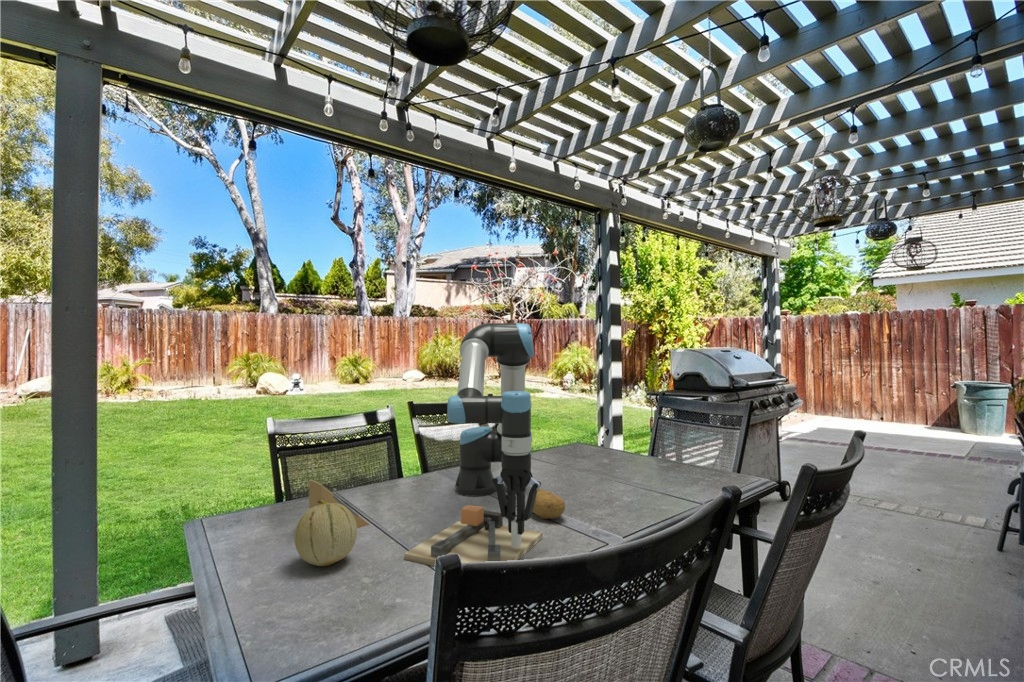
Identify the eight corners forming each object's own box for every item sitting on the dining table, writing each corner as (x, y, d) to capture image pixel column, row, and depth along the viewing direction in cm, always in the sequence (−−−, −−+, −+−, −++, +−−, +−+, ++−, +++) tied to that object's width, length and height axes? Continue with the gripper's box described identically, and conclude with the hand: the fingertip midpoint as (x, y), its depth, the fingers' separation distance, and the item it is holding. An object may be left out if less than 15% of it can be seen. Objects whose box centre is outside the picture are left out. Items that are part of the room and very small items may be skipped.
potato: (549, 527, 145) (549, 500, 145) (521, 514, 157) (521, 489, 157) (573, 520, 151) (573, 494, 151) (544, 508, 162) (544, 484, 162)
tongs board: (462, 523, 148) (462, 506, 148) (542, 537, 137) (542, 519, 137) (404, 559, 123) (404, 538, 123) (496, 580, 112) (496, 557, 112)
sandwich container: (371, 525, 148) (371, 475, 148) (321, 538, 137) (321, 484, 137) (357, 518, 154) (357, 470, 154) (308, 530, 143) (309, 479, 143)
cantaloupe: (329, 581, 112) (330, 514, 112) (279, 571, 117) (280, 507, 117) (369, 555, 125) (370, 496, 126) (323, 547, 131) (324, 490, 131)
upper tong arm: (485, 527, 141) (485, 516, 141) (498, 527, 141) (498, 516, 141) (483, 562, 118) (483, 550, 118) (500, 562, 118) (500, 549, 118)
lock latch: (468, 518, 141) (468, 504, 141) (483, 521, 138) (483, 507, 139) (460, 523, 137) (460, 508, 137) (476, 526, 135) (476, 511, 135)
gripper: (486, 453, 124) (486, 547, 124) (534, 457, 118) (534, 556, 118) (500, 447, 131) (500, 536, 130) (545, 452, 125) (545, 545, 125)
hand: (516, 546), depth 124 cm, fingers closed
